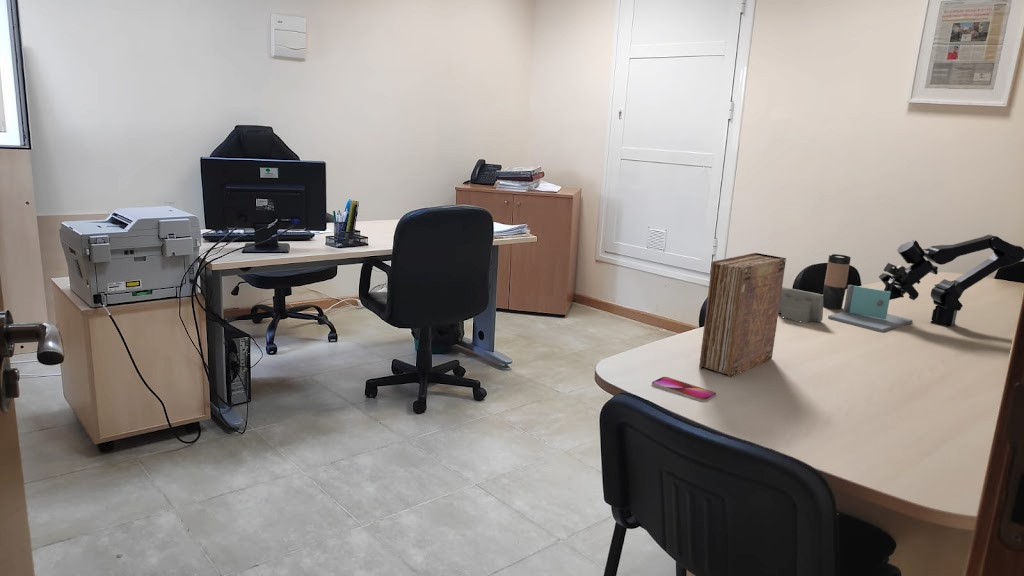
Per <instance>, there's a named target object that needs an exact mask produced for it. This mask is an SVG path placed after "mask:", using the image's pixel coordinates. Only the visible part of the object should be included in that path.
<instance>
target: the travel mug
mask: <svg viewBox="0 0 1024 576" xmlns="http://www.w3.org/2000/svg"><path fill="white" fill-rule="evenodd" d="M851 259H852V258H851V256H849V255H846V254H845V255H844V254H839V253H838V254H835V253H832V254H831V255H829V254H828V261H827V265H826V268H827V269H826V273H825V276H824V277H825V279H824V285H823V294H822V295H823V308H826V309H830V310H842V308H843V306H844V305H843V304H844V301H845V296H846V291H847V286H848V284H847V283H848V278H849V270H850V265H851Z"/></svg>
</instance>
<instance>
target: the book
mask: <svg viewBox="0 0 1024 576" xmlns="http://www.w3.org/2000/svg"><path fill="white" fill-rule="evenodd" d="M786 262H787V258H786V257H782V256H781V257H780V256H775V255H770V254H763V253H758V252H753V253H749V254H743V255H738V256H734V257H728V258H723V259H718V260H712V262H711V267H710V277H709V285H708V293H707V300H706V301H707V302H706V310H705V316H704V317H705V318H704V324H703V332H702V333H703V334H702V342H701V348H700V350H701V351H700V357H699V366H698V369H700V368H701V369H703V368H702V367H704V368H705V369H709V370H712V371H715V372H718V373H721V374H725V375H728V377H729V378H733V377H735V376H737V375H739V374H741V373H740V372H742V373H744V372H746V371H747V369H748V370H750V369H752V367H753V368H754V366H755V367H757V366H759V365H760V364H763V363H765V362H768V361H770V360H772V359H773V352H774V346H775V339H776V338H775V337H776V334H777V333H776V332H777V325H778V318H779V313H778V312H779V305H780V298H781V291H782V287H783V285H784V284H783V282H784V275H785V268H786ZM756 365H757V366H756ZM749 368H750V369H749ZM745 370H746V371H745ZM743 371H744V372H743ZM738 373H739V374H738ZM736 374H737V375H736ZM734 375H735V376H734ZM732 376H733V377H732Z"/></svg>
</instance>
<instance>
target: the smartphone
mask: <svg viewBox="0 0 1024 576" xmlns="http://www.w3.org/2000/svg"><path fill="white" fill-rule="evenodd" d="M651 387H653V388H657V389H661V390H664V391H668V392H670V393H673V394H676V395H679V396H683V397H686V398H688V399H689V398H690V399H692V400H695V401H698V402H705V403H706V402H708V401H710V400H711V399H713V398H715V397H716V396H717V392H715V391H712V390H709V389H706V388H702V387H700V386H696V385H693V384H690V383H687V382H684V381H682V380H677V379H675V378H671V377H668V376H662V377H660V378H658V379H656V380H653V381H652V382H651Z"/></svg>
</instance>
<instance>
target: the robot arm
mask: <svg viewBox="0 0 1024 576" xmlns="http://www.w3.org/2000/svg"><path fill="white" fill-rule="evenodd" d="M988 249H990V250H992V251H993V252H992V253H991V255H990V257H989V258H987V259H985V260H984V261H983V262H981V263H979V264H978V265H976V266H975V267H973V268H971V269H970V270H968V271H967V272H965V273H963V274H962V275H960V276H958V277H957V278H955V279H954V280H948V279H946V278H945V279H942V280H941V281H939V283H937V284H934V287H933V288H932V289H931V291H930V297H931V299H932V302H933V305H935V307H934V309H932V315H931V321H930V324H936V325H939V324H940V326H943V325H946V326H945V327H948V326H951V327H953V326H952V325H954V324H955V323H956V319H957V314H958V312H960V311H961V309H962V308H963V304H962V302H961V301H960V298H961V297H962V295H963V293H964V291H966V290H967V289H969V288H970V287H972V286H974V285H976V284H977V283H979V282H980V281H982V280H983V279H985V278H987V277H988V276H990V275H991V274H993V273H996V271H998V270H999V269H1001V268H1006V267H1011V266H1013V265H1015V264H1017V263H1020V262H1021V261H1023V260H1024V247H1022V246H1020V245H1017V244H1016V245H1015V244H1013V243H1010V242H1008V241H1005V240H1003V239H1002V238H1000V237H999V236H996V235H992V234H986V235H983V236H981V237H976V238H973V239H969V240H966V241H962V242H958V243H953V244H939V245H932V246H930V247H928V248H922V247H921V246H920V243H919V242H918V241H917V240H915V239H912V240H911V241H908V242H905V243H902V244H901V245H900V246H899V247H898V248H897V250H896V251H897V253H898V254H899V255H900V256H901V257H902V259H903V260H904V261H905V263H906V264H911V265H910V266H909V267H905V266H903V265H901V264H899V265H894V264H892V263H890V262H887V264H886V266H885V267H884V268H883V271H884V272H883V273H881V274H880V275H879V276H878V278H879V279H880V281H881V282H882V283H883V284H884V285H885V288H884V289H883V291H889V292H891V294H890V300H889V301H891V300H896V299H899V298H904V297H905V296H904V295H905V294H908V298H909V299H910V300H912V301H915V300H917V299H918V298H919V292H918V290H917V289H916V288H915V287H914V285H915V284H918V285H920V284H921V280H922V279H923V278H924V277H926V276H927V275H928V274H930V273H931V274H934V275H935V276H936V275H938V274H939V273H938V271H939V267H938V266H936V265H934V264H937V265H941V266H942V265H946V264H948V263H950V262H952V261H954V260H955V259H957V258H958V257H959V258H960V257H961V256H965V255H969V254H973V253H976V252H981V251H985V250H988ZM933 263H934V264H933ZM885 272H887V273H885ZM954 326H955V325H954Z"/></svg>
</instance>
